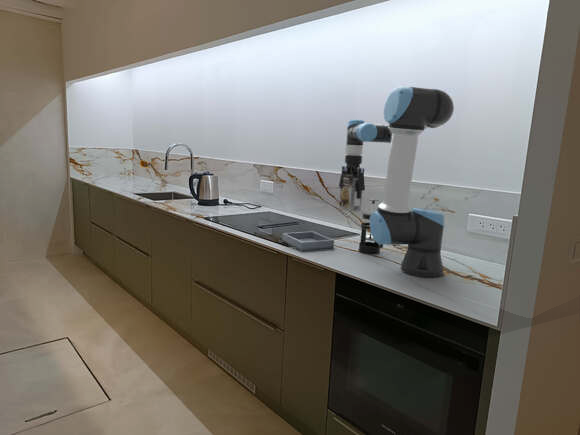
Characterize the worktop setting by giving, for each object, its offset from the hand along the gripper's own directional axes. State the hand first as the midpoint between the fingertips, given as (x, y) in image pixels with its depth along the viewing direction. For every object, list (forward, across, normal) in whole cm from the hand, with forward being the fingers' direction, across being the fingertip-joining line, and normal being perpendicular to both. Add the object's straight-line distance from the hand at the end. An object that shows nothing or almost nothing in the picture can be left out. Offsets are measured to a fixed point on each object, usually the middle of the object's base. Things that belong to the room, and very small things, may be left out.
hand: (350, 204), depth 188 cm
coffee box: (+3, 0, 0) cm, 3 cm away
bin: (+18, +2, +21) cm, 28 cm away
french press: (+19, -16, 0) cm, 25 cm away
